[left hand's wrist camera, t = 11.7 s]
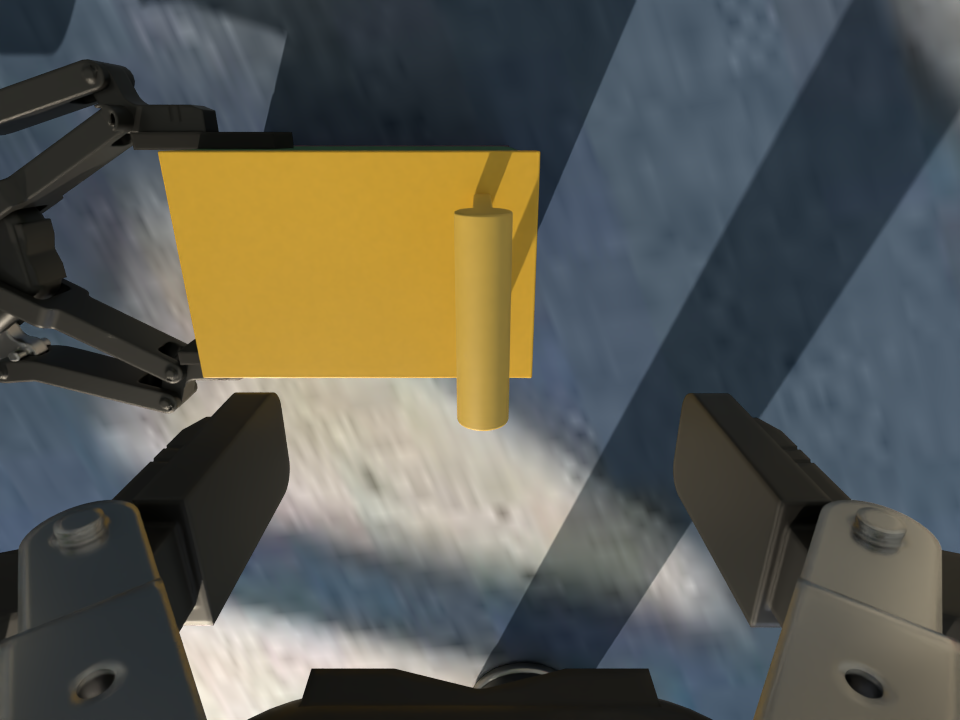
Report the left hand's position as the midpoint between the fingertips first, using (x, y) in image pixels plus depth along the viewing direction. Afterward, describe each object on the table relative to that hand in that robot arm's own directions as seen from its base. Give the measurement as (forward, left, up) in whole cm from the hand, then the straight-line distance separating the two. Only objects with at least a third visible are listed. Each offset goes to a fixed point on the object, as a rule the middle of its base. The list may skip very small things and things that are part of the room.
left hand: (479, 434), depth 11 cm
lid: (-4, +4, -15) cm, 16 cm away
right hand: (-7, +7, -19) cm, 21 cm away
